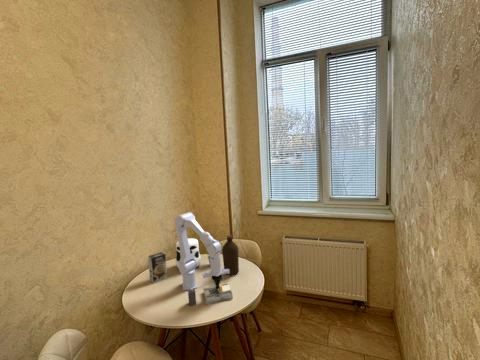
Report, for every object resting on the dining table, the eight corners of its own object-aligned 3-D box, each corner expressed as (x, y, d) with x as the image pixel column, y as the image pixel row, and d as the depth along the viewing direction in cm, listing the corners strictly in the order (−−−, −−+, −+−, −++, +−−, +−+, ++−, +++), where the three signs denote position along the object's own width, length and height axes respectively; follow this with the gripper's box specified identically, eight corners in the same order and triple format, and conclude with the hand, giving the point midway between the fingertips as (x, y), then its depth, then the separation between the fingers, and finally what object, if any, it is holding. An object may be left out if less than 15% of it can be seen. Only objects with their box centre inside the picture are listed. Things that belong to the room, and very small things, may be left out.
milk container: (196, 259, 191) (194, 236, 190) (205, 267, 176) (203, 242, 175) (173, 265, 182) (171, 241, 181) (180, 274, 168) (178, 248, 166)
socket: (203, 292, 143) (203, 287, 143) (227, 287, 147) (227, 282, 147) (206, 303, 132) (206, 298, 132) (232, 298, 136) (232, 293, 135)
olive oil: (236, 277, 159) (233, 238, 157) (220, 275, 163) (218, 237, 161) (242, 270, 169) (239, 233, 167) (227, 268, 173) (225, 232, 171)
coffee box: (153, 283, 157) (151, 258, 156) (149, 280, 162) (147, 255, 160) (167, 278, 163) (165, 254, 162) (163, 275, 168) (161, 251, 166)
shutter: (218, 287, 142) (218, 282, 142) (228, 285, 144) (228, 280, 144) (220, 293, 137) (220, 287, 136) (231, 290, 138) (230, 285, 138)
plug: (188, 302, 134) (187, 288, 133) (195, 301, 135) (194, 286, 134) (189, 306, 131) (188, 291, 130) (196, 304, 132) (195, 290, 131)
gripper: (203, 269, 132) (205, 294, 133) (230, 264, 136) (231, 289, 137) (201, 264, 139) (203, 287, 140) (227, 259, 143) (228, 283, 144)
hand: (217, 288), depth 139 cm, fingers closed
